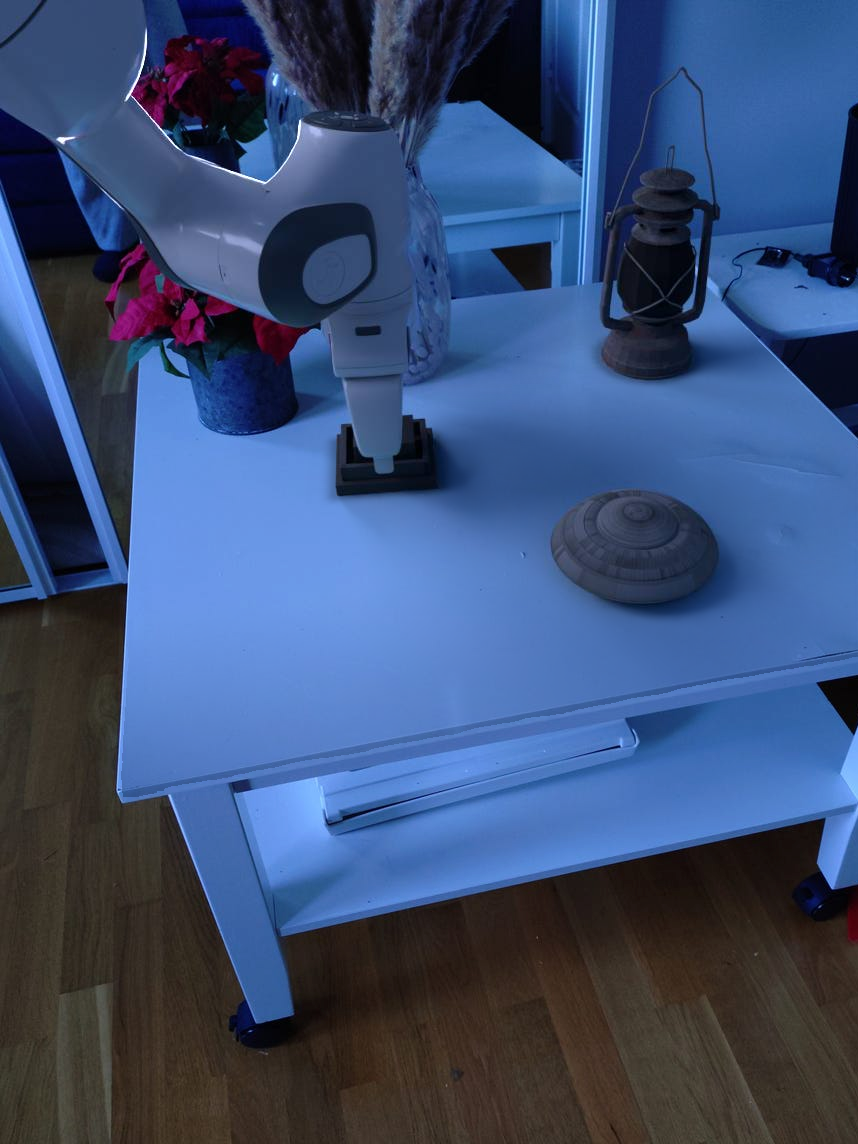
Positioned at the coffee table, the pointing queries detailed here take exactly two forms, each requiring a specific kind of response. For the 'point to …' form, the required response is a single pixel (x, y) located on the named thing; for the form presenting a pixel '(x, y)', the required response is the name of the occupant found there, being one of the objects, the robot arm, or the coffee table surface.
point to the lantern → (657, 269)
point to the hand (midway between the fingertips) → (383, 441)
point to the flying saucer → (635, 546)
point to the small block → (406, 443)
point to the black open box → (402, 478)
